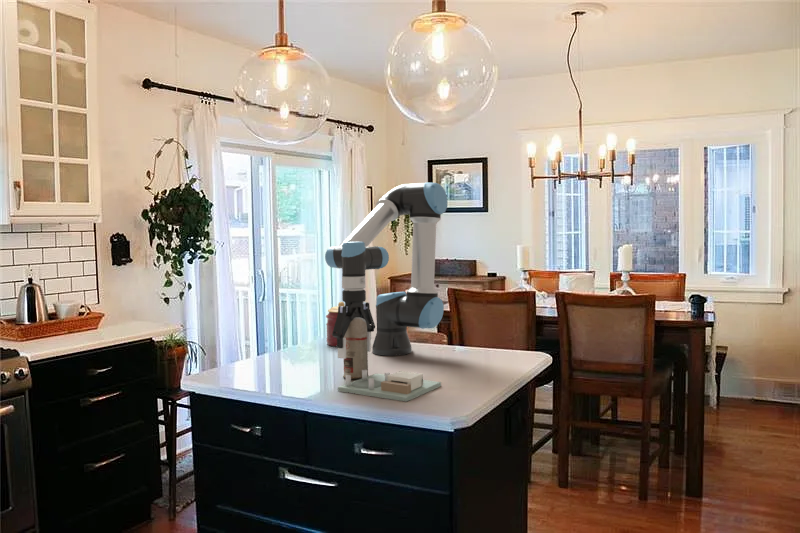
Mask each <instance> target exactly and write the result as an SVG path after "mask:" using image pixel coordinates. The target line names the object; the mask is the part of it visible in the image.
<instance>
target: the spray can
mask: <svg viewBox="0 0 800 533" xmlns="http://www.w3.org/2000/svg"><path fill="white" fill-rule="evenodd" d="M344 338H346V359H343V376H342V377H343V378H345V379H346V377H345V376H346V375H351V380H353V379H355V380H357V379H362V370H367V377H368V376H370V375H369V359H368V357H369V356H368V351H367V324H366V321H365V319H363V318H361V317H355V318H354V319H353V320H352V321H351V322H350V325H349V327H348V329H347V331H346V334H345V336H344Z"/></svg>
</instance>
